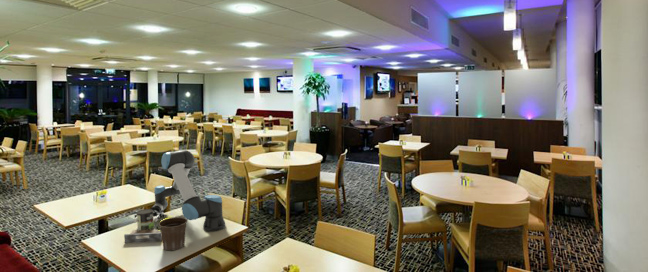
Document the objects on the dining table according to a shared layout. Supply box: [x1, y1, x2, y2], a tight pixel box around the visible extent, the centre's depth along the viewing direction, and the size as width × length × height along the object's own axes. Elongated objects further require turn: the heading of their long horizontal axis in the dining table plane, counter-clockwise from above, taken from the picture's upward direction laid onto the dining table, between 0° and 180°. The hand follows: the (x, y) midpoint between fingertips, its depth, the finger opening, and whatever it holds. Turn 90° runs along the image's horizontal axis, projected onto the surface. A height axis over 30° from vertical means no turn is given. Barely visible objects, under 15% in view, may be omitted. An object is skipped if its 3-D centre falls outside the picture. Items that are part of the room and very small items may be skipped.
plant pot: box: [158, 216, 188, 252], centre depth 217 cm, size 16×16×16 cm
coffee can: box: [136, 208, 155, 230], centre depth 241 cm, size 10×10×14 cm
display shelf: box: [123, 229, 163, 244], centre depth 230 cm, size 22×14×6 cm, turn 97°
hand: (145, 220), depth 242 cm, fingers open, 13 cm apart
